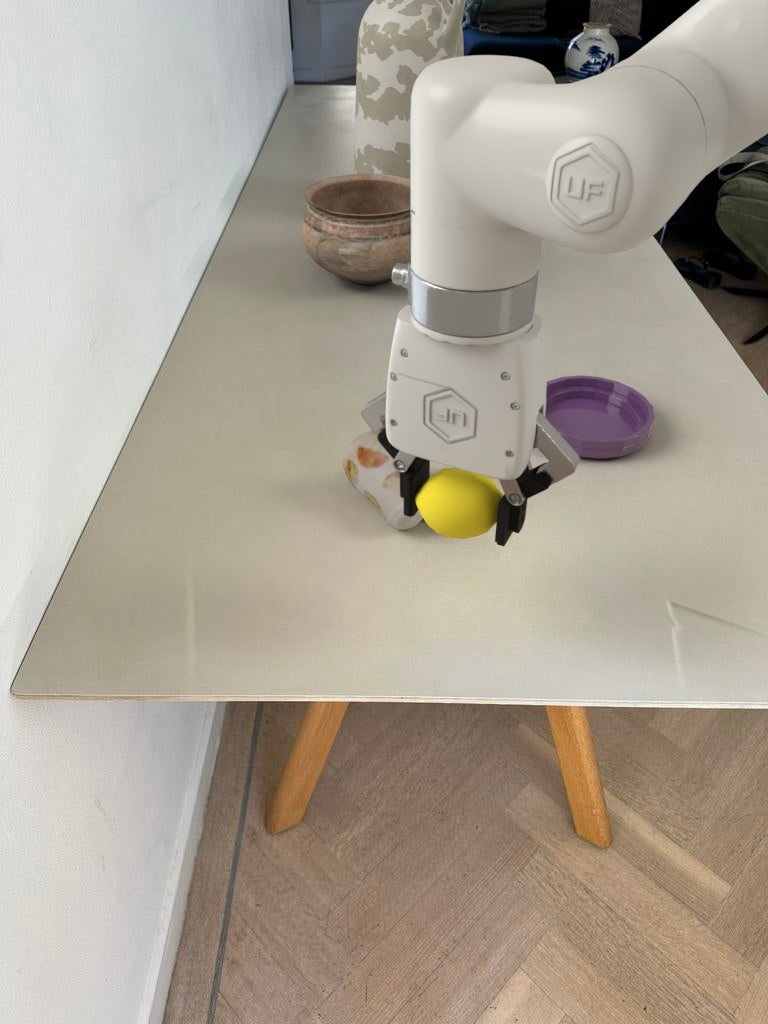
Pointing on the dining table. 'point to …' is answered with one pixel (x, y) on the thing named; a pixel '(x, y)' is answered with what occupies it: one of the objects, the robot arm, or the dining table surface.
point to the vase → (397, 75)
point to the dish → (598, 415)
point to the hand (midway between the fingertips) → (460, 518)
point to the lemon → (459, 503)
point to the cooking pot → (359, 226)
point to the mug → (377, 479)
